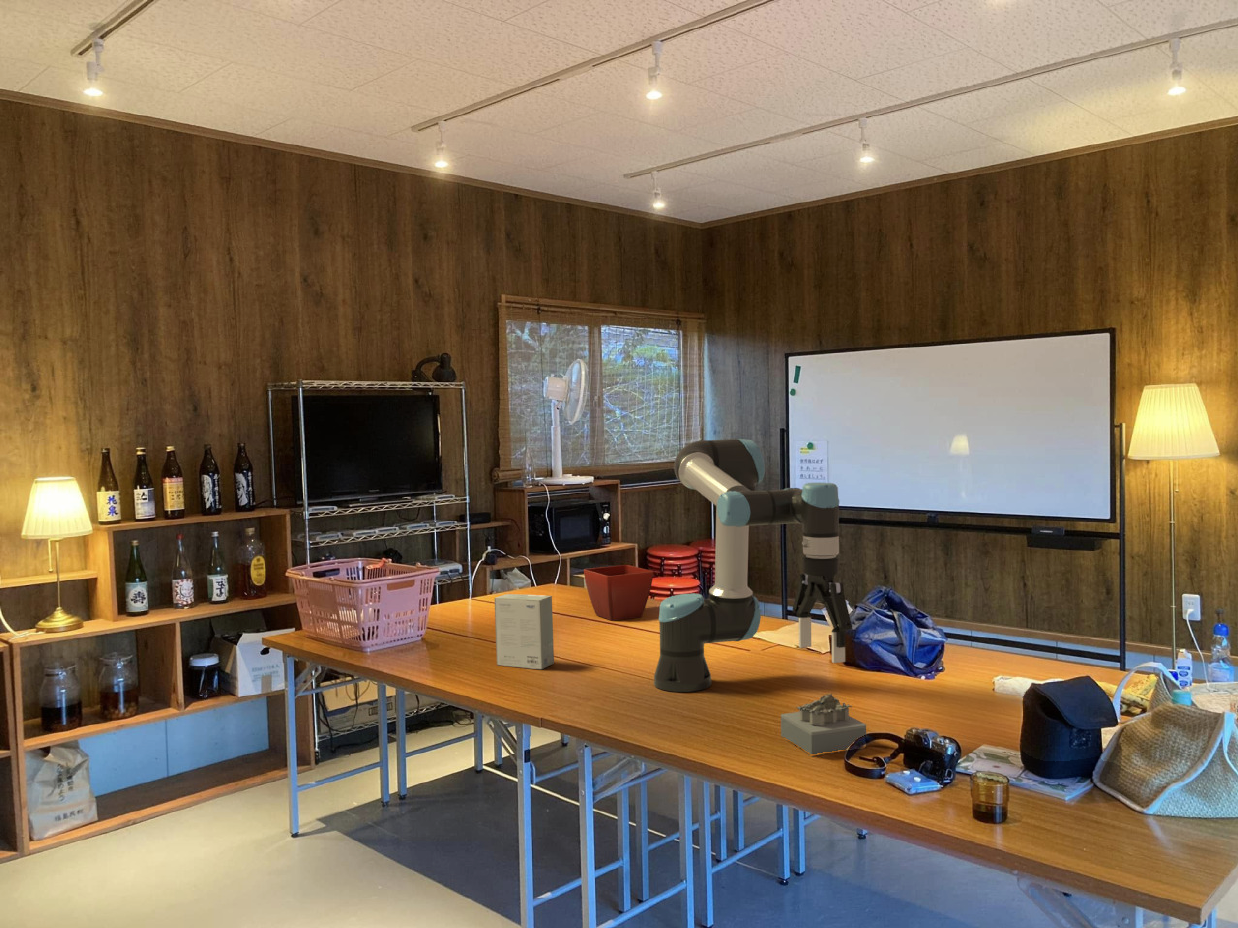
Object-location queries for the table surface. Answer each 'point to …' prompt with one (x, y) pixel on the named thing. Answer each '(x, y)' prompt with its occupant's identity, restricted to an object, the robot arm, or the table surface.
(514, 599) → the hard drive box
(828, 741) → the plinth
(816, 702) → the egg carton
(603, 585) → the plant pot
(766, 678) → the table surface
